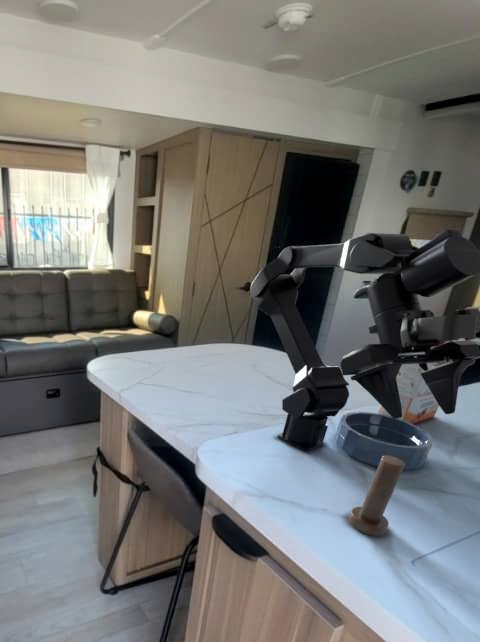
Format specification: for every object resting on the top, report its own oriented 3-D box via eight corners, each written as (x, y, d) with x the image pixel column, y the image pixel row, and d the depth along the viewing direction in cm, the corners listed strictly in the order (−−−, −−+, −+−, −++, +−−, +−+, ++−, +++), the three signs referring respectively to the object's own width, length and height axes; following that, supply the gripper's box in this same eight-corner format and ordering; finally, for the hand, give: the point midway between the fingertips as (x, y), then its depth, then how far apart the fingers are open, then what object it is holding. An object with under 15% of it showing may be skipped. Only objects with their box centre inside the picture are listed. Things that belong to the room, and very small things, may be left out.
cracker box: (402, 429, 87) (442, 334, 78) (374, 418, 92) (408, 327, 83) (436, 418, 93) (477, 328, 84) (408, 408, 98) (444, 321, 89)
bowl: (319, 444, 80) (326, 421, 78) (356, 427, 88) (364, 406, 85) (400, 481, 69) (411, 456, 67) (435, 458, 77) (446, 435, 75)
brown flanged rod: (342, 521, 59) (366, 457, 55) (358, 511, 62) (382, 448, 57) (375, 540, 56) (404, 473, 51) (391, 528, 58) (420, 464, 53)
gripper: (394, 284, 50) (428, 406, 47) (508, 284, 54) (545, 397, 51) (327, 322, 61) (351, 424, 58) (426, 320, 65) (453, 415, 62)
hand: (424, 415), depth 57 cm, fingers open, 9 cm apart
